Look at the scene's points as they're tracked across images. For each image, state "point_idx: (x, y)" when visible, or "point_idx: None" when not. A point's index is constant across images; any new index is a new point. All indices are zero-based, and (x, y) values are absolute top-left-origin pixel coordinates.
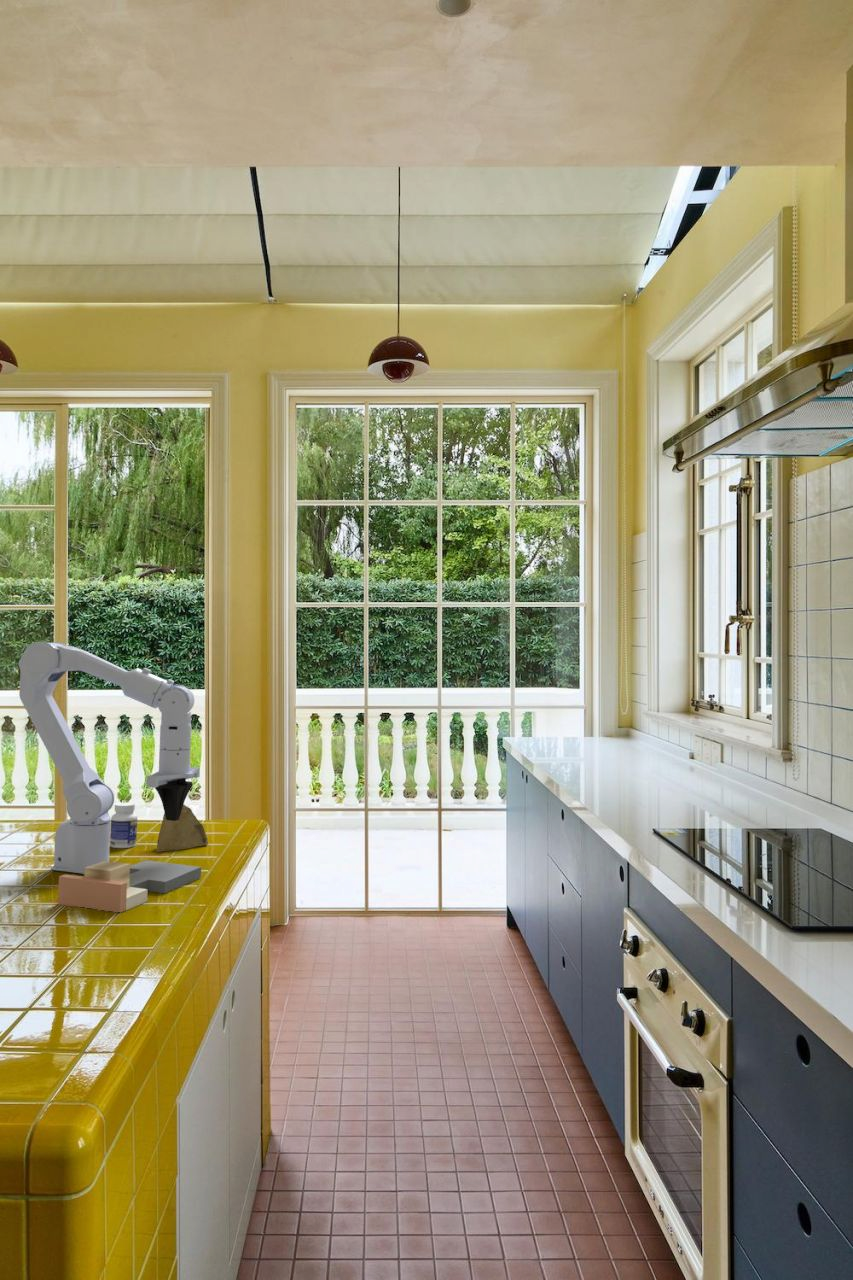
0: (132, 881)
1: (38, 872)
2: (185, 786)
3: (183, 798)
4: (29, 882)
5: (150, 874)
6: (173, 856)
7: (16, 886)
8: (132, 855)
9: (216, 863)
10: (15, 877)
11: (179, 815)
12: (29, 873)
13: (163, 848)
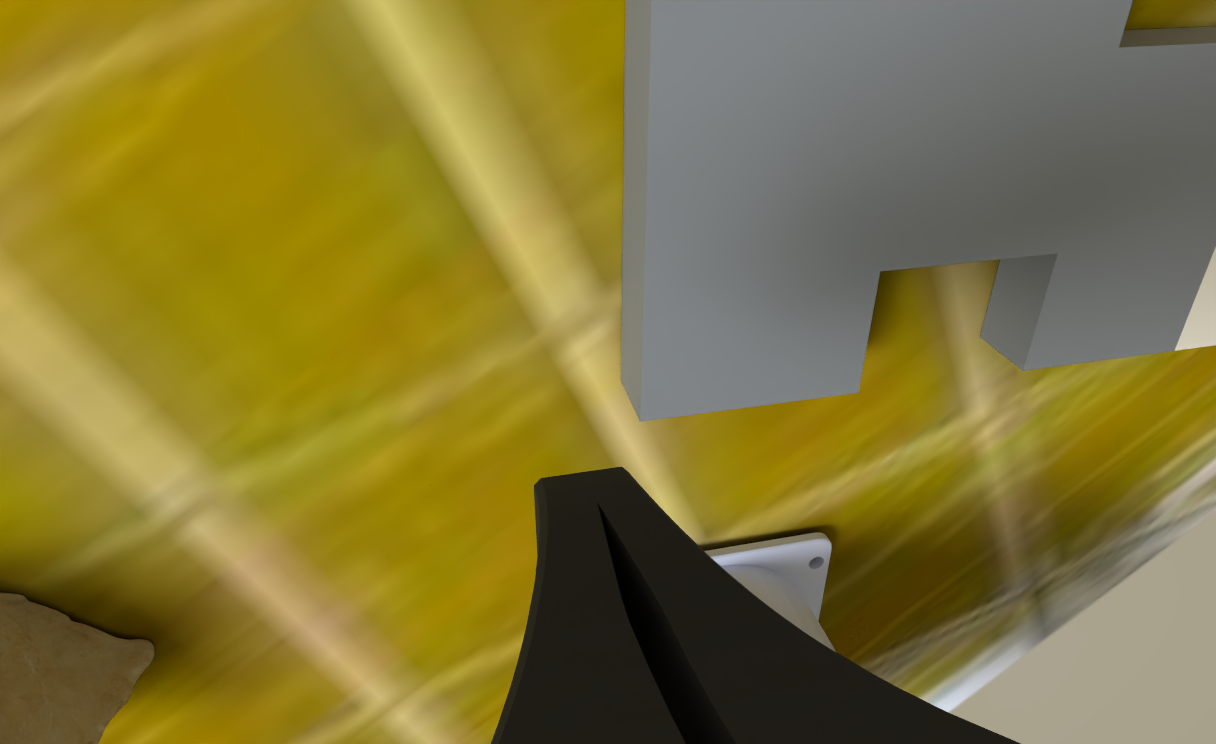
0: (1172, 116)
1: None
2: None
3: (596, 672)
4: (982, 632)
5: (987, 128)
6: (174, 497)
7: (1045, 622)
8: (333, 682)
9: (101, 52)
10: None
11: (566, 501)
12: None
13: (102, 651)
